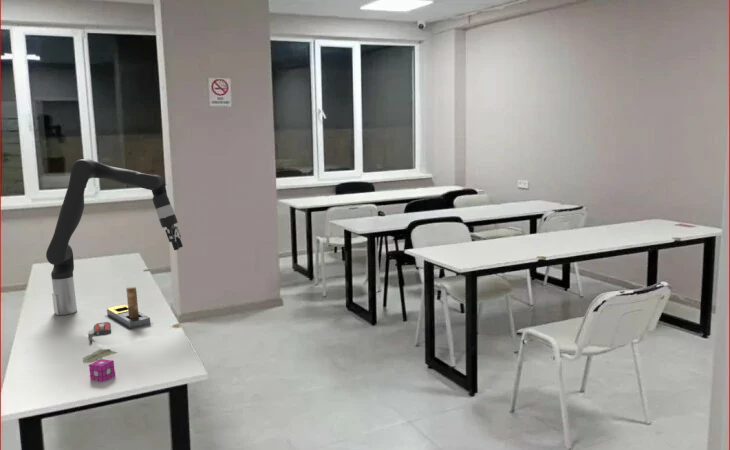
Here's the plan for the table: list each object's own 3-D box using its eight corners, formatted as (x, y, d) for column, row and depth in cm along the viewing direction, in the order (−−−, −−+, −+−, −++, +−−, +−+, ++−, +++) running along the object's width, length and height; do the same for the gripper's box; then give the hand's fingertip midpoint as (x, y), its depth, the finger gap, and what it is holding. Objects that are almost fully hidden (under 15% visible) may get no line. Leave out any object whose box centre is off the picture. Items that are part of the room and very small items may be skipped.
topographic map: (72, 363, 229) (72, 359, 229) (100, 350, 241) (99, 346, 241) (101, 369, 224) (100, 365, 224) (127, 354, 236) (127, 350, 236)
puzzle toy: (90, 380, 212) (88, 364, 211) (102, 373, 218) (101, 358, 217) (103, 382, 210) (101, 366, 209) (115, 375, 216) (113, 360, 215)
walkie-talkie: (89, 330, 266) (88, 345, 248) (88, 320, 265) (86, 335, 247) (111, 327, 269) (111, 341, 251) (110, 317, 269) (110, 331, 250)
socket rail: (128, 332, 261) (127, 322, 261) (105, 317, 282) (104, 308, 281) (153, 325, 268) (152, 316, 268) (128, 312, 289) (128, 303, 288)
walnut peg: (131, 325, 267) (128, 289, 264) (128, 323, 270) (124, 287, 267) (140, 323, 270) (137, 287, 267) (137, 321, 273) (133, 286, 270)
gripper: (162, 217, 293) (174, 249, 295) (155, 219, 279) (167, 253, 280) (177, 212, 293) (189, 244, 295) (171, 214, 279) (183, 248, 281)
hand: (178, 248), depth 288 cm, fingers open, 8 cm apart
